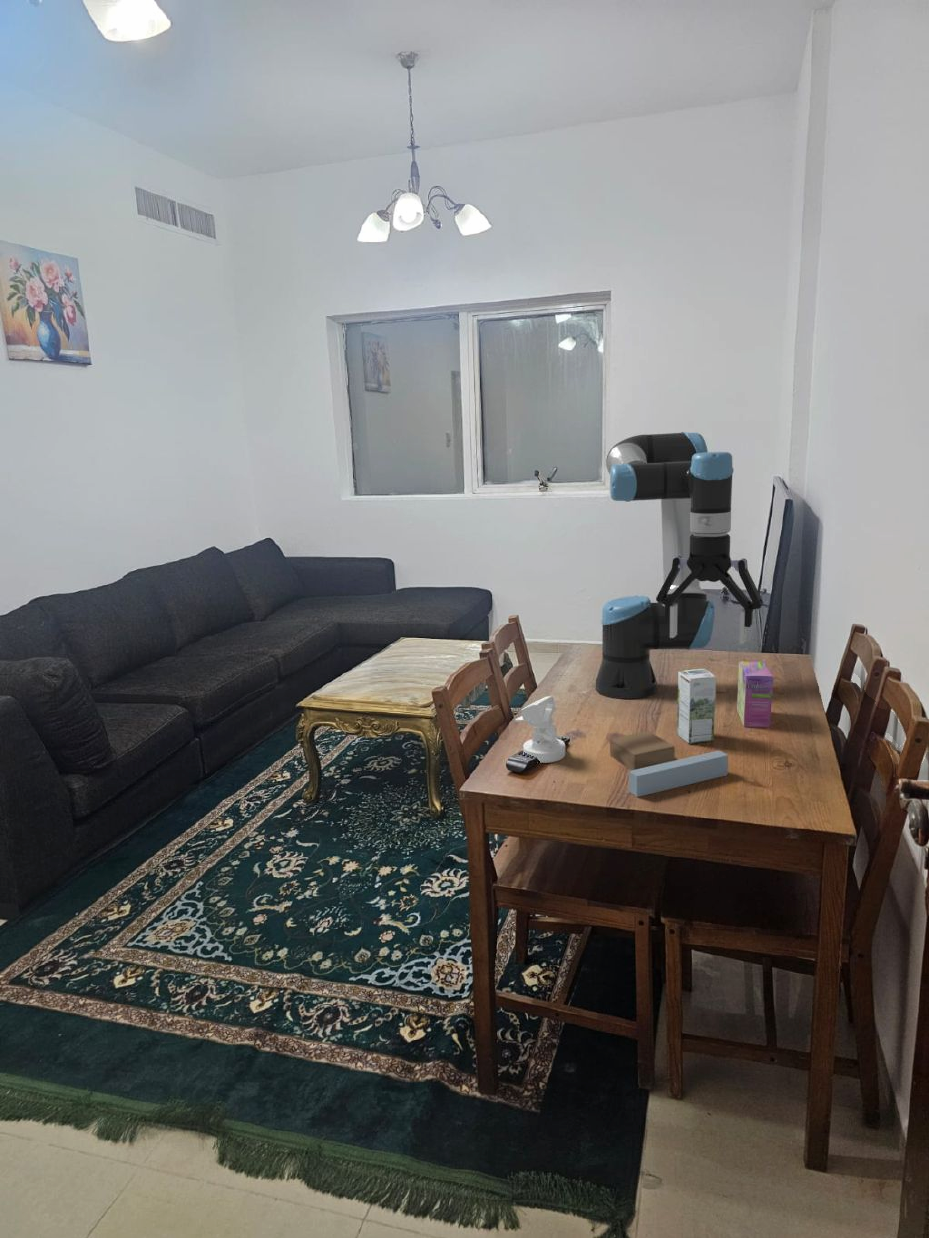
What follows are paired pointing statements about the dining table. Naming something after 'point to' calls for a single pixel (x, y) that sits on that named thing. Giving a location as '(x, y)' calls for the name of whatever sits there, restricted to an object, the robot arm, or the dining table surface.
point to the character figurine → (542, 731)
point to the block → (641, 750)
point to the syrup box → (696, 705)
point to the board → (678, 773)
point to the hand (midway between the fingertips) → (707, 639)
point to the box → (754, 694)
